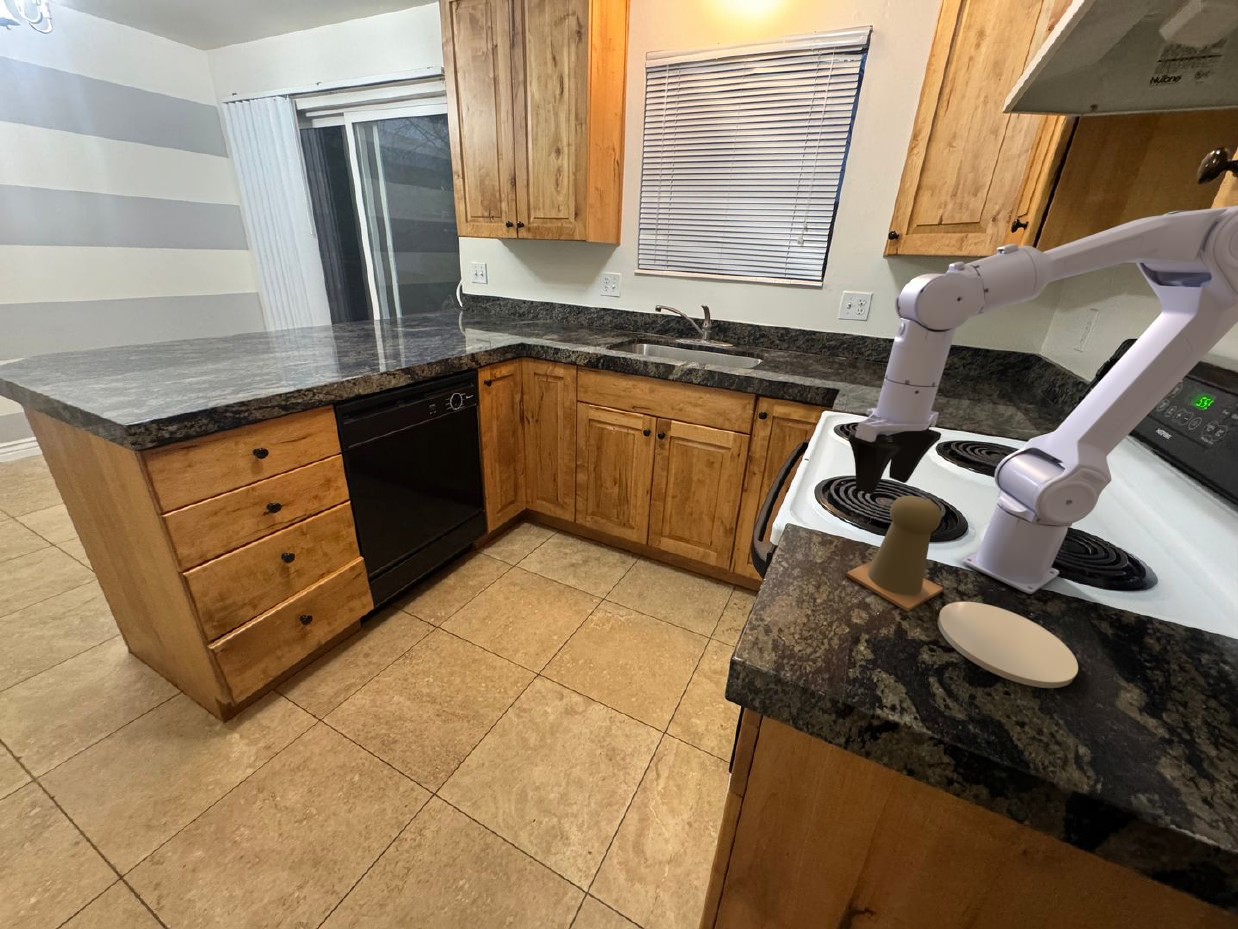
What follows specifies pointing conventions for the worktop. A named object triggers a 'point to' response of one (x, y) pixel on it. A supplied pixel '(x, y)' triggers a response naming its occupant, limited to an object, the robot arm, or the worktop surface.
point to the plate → (1007, 644)
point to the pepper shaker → (905, 546)
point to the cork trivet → (900, 600)
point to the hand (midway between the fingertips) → (881, 485)
